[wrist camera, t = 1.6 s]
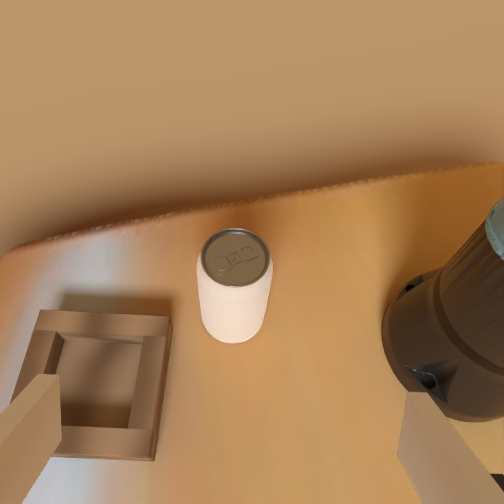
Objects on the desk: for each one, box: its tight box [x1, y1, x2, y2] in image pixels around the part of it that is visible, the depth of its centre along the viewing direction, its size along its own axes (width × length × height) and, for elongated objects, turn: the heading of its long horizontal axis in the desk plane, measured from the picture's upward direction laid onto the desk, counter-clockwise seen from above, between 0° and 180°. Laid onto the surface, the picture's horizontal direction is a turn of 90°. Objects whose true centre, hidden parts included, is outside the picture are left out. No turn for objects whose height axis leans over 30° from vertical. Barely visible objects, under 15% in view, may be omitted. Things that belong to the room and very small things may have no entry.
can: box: [197, 228, 273, 343], centre depth 39 cm, size 6×6×12 cm
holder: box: [10, 310, 173, 461], centre depth 38 cm, size 12×12×4 cm
